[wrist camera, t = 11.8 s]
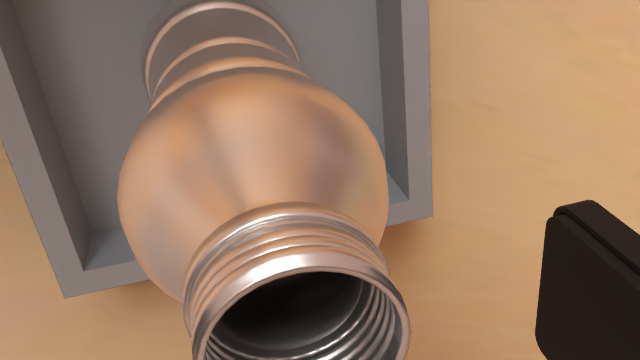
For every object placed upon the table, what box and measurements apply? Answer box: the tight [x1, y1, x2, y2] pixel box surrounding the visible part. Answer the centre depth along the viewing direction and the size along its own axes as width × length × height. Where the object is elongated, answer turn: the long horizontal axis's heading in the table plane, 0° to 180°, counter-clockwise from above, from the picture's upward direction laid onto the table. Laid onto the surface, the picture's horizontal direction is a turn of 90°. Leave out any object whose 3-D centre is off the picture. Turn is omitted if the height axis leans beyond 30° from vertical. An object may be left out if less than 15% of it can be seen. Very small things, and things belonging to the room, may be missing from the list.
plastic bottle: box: [117, 0, 411, 360], centre depth 18 cm, size 6×7×20 cm
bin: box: [0, 0, 433, 299], centre depth 26 cm, size 18×18×4 cm
